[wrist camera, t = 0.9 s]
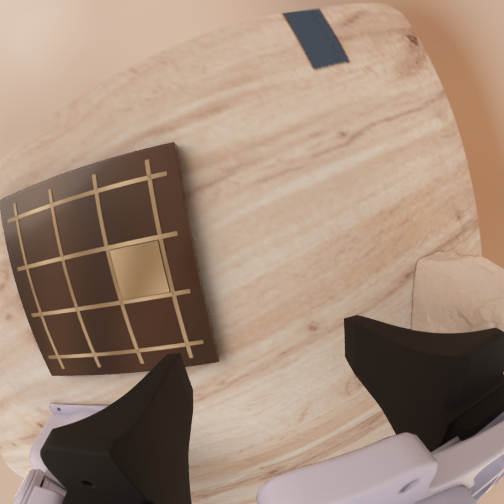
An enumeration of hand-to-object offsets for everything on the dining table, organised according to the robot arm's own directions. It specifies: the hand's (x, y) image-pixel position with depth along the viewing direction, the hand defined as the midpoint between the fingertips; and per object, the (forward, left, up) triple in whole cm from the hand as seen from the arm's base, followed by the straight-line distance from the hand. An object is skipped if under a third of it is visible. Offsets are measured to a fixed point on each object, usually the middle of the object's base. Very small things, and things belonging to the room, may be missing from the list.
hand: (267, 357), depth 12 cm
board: (-11, +3, -9) cm, 15 cm away
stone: (+17, -5, -10) cm, 20 cm away
